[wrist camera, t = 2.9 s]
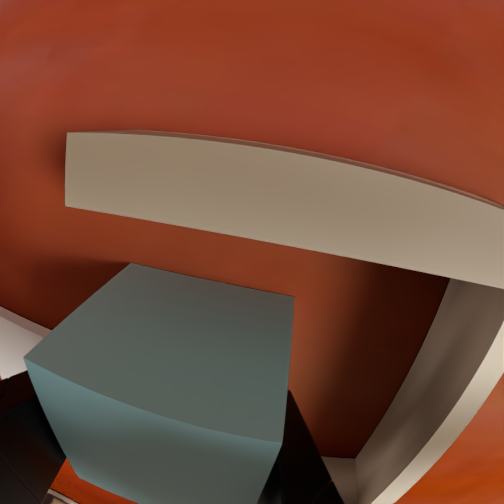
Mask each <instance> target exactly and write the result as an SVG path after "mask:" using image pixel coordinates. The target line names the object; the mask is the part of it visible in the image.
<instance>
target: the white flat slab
mask: <svg viewBox="0 0 504 504" xmlns="http://www.w3.org/2000/svg"><path fill="white" fill-rule="evenodd" d="M51 331H52V330H50V329H48V328H45V327H43V326H41V325H38V324H36V323H34V322H32V321H30V320H27V319H25V318H23V317H21V316H19V315H17V314H15V313H13V312H11V311H9V310H7V309H5V308H3V307H1V306H0V375H1V378H2V380H3V379H5V378H9V377H11V376H13V375H16V374H18V373H21V372H23V371H26V370H27V368H26V365H25V362H24V359H23V357H24V356H25V355H26V354H27V353H28V352H29V351H30V350H31V349H32V348H33V347H35V346H36V345H37V344H38V343H39V342H40V341H41V340H42V339H43V338H44V337H45V336H46V335H48V334H49V333H50V332H51Z"/></svg>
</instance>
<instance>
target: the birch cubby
mask: <svg viewBox="0 0 504 504" xmlns="http://www.w3.org/2000/svg"><path fill="white" fill-rule="evenodd" d="M65 206H68V207H74V208H79V209H85V210H91V211H97V212H103V213H109V214H115V215H121V216H126V217H132V218H138V219H144V220H149V221H155V222H161V223H166V224H172V225H178V226H183V227H189V228H194V229H200V230H205V231H211V232H216V233H222V234H227V235H233V236H238V237H244V238H249V239H254V240H260V241H265V242H271V243H276V244H281V245H286V246H292V247H297V248H302V249H308V250H313V251H318V252H323V253H328V254H334V255H339V256H344V257H349V258H354V259H359V260H364V261H369V262H374V263H380V264H385V265H390V266H395V267H400V268H405V269H410V270H414V271H419V272H424V273H429V274H434V275H439V276H444V277H449V278H450V281H449V283H448V286H447V289H446V291H445V294H444V296H443V299H442V301H441V304H440V306H439V309H438V311H437V314H436V316H435V318H434V321H433V323H432V325H431V327H430V330H429V332H428V334H427V336H426V338H425V340H424V343H423V345H422V347H421V349H420V351H419V353H418V355H417V357H416V359H415V361H414V363H413V365H412V367H411V369H410V371H409V373H408V374H407V376H406V378H405V380H404V382H403V384H402V385H401V387H400V389H399V391H398V393H397V394H396V396H395V398H394V400H393V401H392V403H391V405H390V406H389V408H388V410H387V411H386V413H385V415H384V416H383V418H382V420H381V421H380V423H379V424H378V426H377V427H376V429H375V431H374V432H373V434H372V435H371V437H370V438H369V440H368V441H367V443H366V444H365V445H364V447H363V448H362V450H361V451H360V453H359V454H358V456H357V457H356V458H355V459H351V458H335V457H323V456H321V457H322V459H323V461H324V463H325V465H326V467H327V469H328V472H329V474H330V476H331V478H332V480H331V481H333V482H334V484H335V486H336V488H337V490H338V492H339V494H340V496H341V497H342V499H343V501H344V503H345V504H393V503H395V502H396V501H397V500H398V499H399V498H400V497H401V496H402V495H403V494H405V493H406V492H407V491H408V490H409V489H410V488H411V487H412V486H413V485H414V484H415V483H416V482H417V481H418V480H419V479H420V478H421V477H422V476H423V475H424V474H425V473H426V472H427V471H428V470H429V469H430V468H431V467H432V466H433V465H434V463H435V462H436V461H437V460H438V459H439V458H440V457H441V456H442V455H443V454H444V452H445V451H446V450H447V449H448V448H449V447H450V445H451V444H452V443H453V442H454V441H455V440H456V438H457V437H458V436H459V435H460V433H461V432H462V431H463V430H464V428H465V427H466V426H467V425H468V423H469V422H470V421H471V419H472V418H473V417H474V415H475V414H476V413H477V411H478V410H479V408H480V407H481V406H482V404H483V403H484V401H485V400H486V398H487V397H488V396H489V394H490V393H491V391H492V390H493V388H494V387H495V385H496V383H497V382H498V380H499V379H500V377H501V376H502V374H503V372H504V205H502V204H500V203H497V202H494V201H492V200H489V199H486V198H483V197H481V196H478V195H475V194H472V193H469V192H466V191H463V190H460V189H457V188H454V187H451V186H448V185H445V184H441V183H438V182H435V181H432V180H428V179H425V178H422V177H418V176H415V175H411V174H407V173H404V172H400V171H396V170H393V169H389V168H385V167H381V166H377V165H373V164H369V163H365V162H360V161H356V160H352V159H347V158H343V157H338V156H333V155H329V154H324V153H319V152H314V151H309V150H303V149H298V148H292V147H286V146H281V145H274V144H268V143H262V142H255V141H248V140H241V139H233V138H226V137H217V136H208V135H199V134H189V133H178V132H165V131H151V130H103V131H83V132H68V133H67V142H66V162H65ZM257 503H258V501H257ZM257 503H256V504H257Z"/></svg>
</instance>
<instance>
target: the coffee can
mask: <svg viewBox="0 0 504 504" xmlns="http://www.w3.org/2000/svg"><path fill="white" fill-rule="evenodd" d="M41 504H78V503H77V502H75V501H73V500H71V499H70V498H68V497H66V496H64V495H62V494H60V493H58V492H56V491H54V490H52V489H49V490H48V492H47V494H46V496H45V498H44V499H43V501H42V502H41Z"/></svg>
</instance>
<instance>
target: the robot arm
mask: <svg viewBox="0 0 504 504" xmlns="http://www.w3.org/2000/svg"><path fill="white" fill-rule="evenodd" d="M66 458H67V457H66V455H65V453H64V451H63V450H62V448H61V446H60V444H59V442H58V440H57V438H56V436H55V434H54V432H53V430H52V428H51V426H50V424H49V421H48V419H47V417H46V415H45V413H44V410H43V408H42V406H41V404H40V401H39V399H38V396H37V394H36V391H35V389H34V386H33V384H32V381H31V379H30V376H29V373H28V370H26V371H23V372H21V373H18V374H16V375H13V376H11V377H9V378H5V379H3V380H0V504H41V502H42V501H43V499H44V498H45V496H46V494H47V492H48V490H49V488H50V486H51V485H52V483H53V481H54V479H55V477H56V475H57V474H58V472H59V470H60V468H61V466H62V465H63V463H64V461H65V459H66ZM331 480H332V478H331V476H330V474H329V472H328V469H327V467H326V465H325V463H324V461H323V459H322V457H321V455H320V453H319V451H318V449H317V446H316V444H315V442H314V440H313V438H312V436H311V434H310V432H309V430H308V427H307V425H306V423H305V421H304V419H303V417H302V415H301V413H300V410H299V408H298V406H297V404H296V402H295V400H294V397H293V395H292V393H291V391H290V390H288V391H287V402H286V412H285V422H284V432H283V441H282V445H281V448H280V450H279V453H278V455H277V458H276V460H275V462H274V465H273V467H272V469H271V472H270V474H269V476H268V479H267V481H266V483H265V485H264V488H263V490H262V492H261V494H260V496H259V499H258V503H257V504H345V503H344V501H343V499H342V497H341V496H340V494H339V492H338V490H337V488H336V486H335V484H334V482H333V481H331Z"/></svg>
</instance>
